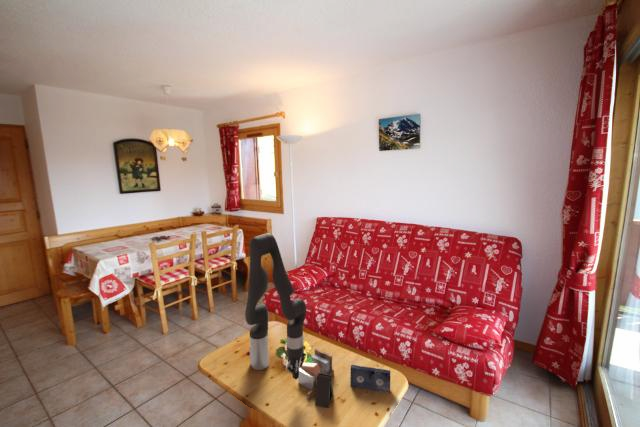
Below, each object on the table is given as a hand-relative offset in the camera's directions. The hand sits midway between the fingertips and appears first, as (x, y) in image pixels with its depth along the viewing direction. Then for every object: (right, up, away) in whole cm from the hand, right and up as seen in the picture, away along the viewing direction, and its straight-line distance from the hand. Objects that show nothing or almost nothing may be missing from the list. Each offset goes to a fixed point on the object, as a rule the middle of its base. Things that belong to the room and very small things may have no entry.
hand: (295, 377), depth 137 cm
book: (+8, -6, +8) cm, 13 cm away
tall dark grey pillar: (+8, -7, +10) cm, 14 cm away
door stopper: (+13, -9, -1) cm, 16 cm away
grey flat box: (+5, -8, +7) cm, 11 cm away
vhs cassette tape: (+34, -8, +5) cm, 36 cm away
